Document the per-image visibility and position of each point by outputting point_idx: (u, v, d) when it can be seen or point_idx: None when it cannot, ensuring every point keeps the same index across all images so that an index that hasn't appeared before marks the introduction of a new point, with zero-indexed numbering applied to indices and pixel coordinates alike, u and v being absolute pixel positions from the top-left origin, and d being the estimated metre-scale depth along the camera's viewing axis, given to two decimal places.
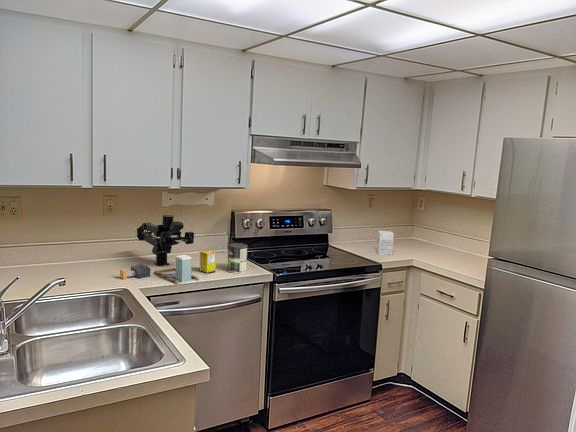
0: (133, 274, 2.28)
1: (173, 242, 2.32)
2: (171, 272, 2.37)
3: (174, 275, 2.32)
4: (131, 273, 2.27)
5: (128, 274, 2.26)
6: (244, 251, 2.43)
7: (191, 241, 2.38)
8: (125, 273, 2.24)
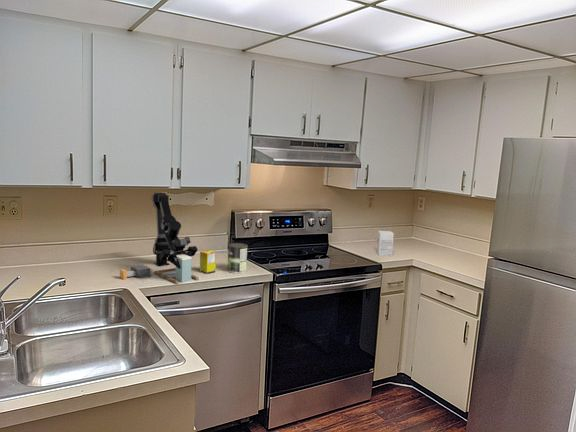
0: (133, 274, 2.28)
1: (176, 264, 2.23)
2: (171, 272, 2.37)
3: (174, 275, 2.32)
4: (131, 273, 2.27)
5: (128, 274, 2.26)
6: (244, 251, 2.43)
7: None
8: (125, 273, 2.24)
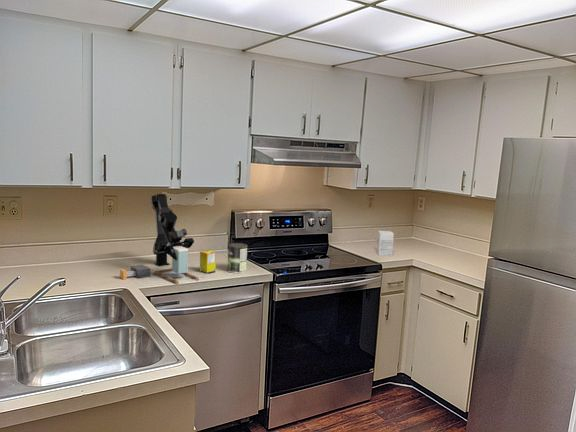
0: (133, 274, 2.28)
1: (173, 256, 2.25)
2: (171, 272, 2.37)
3: (174, 275, 2.32)
4: (131, 273, 2.27)
5: (128, 274, 2.26)
6: (244, 251, 2.43)
7: None
8: (125, 273, 2.24)
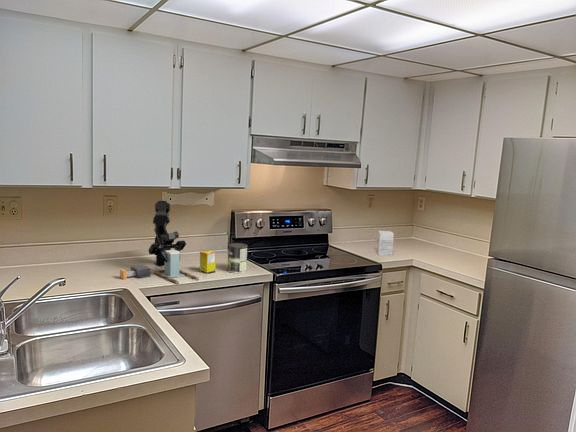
0: (133, 274, 2.28)
1: (163, 258, 2.31)
2: None
3: (174, 275, 2.32)
4: (131, 273, 2.27)
5: (128, 274, 2.26)
6: (244, 251, 2.43)
7: None
8: (125, 273, 2.24)
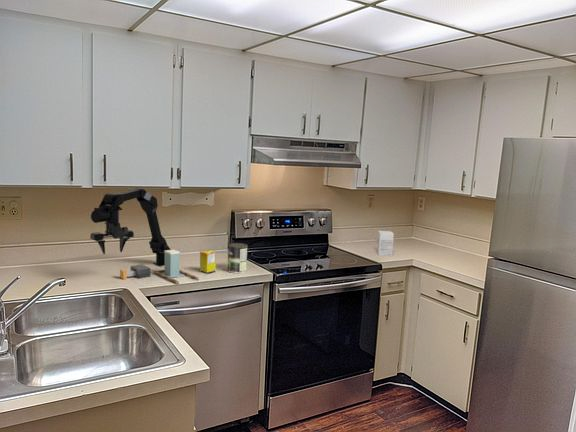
0: (133, 274, 2.28)
1: (102, 249, 2.16)
2: None
3: (174, 275, 2.32)
4: (131, 273, 2.27)
5: (128, 274, 2.26)
6: (244, 251, 2.43)
7: (120, 248, 2.23)
8: (125, 273, 2.24)
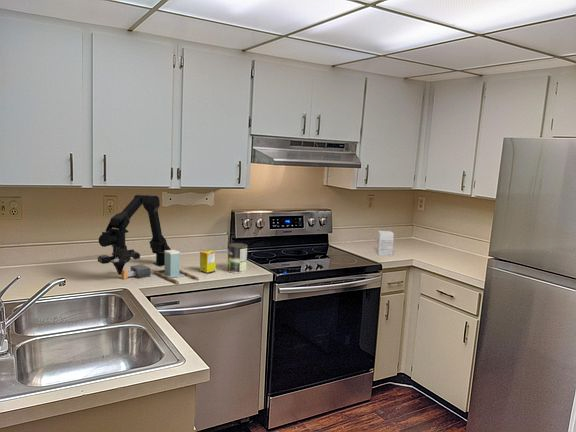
0: (134, 274, 2.28)
1: (117, 270, 2.23)
2: None
3: (174, 275, 2.32)
4: (132, 273, 2.27)
5: (129, 274, 2.26)
6: (244, 251, 2.43)
7: None
8: (126, 273, 2.24)
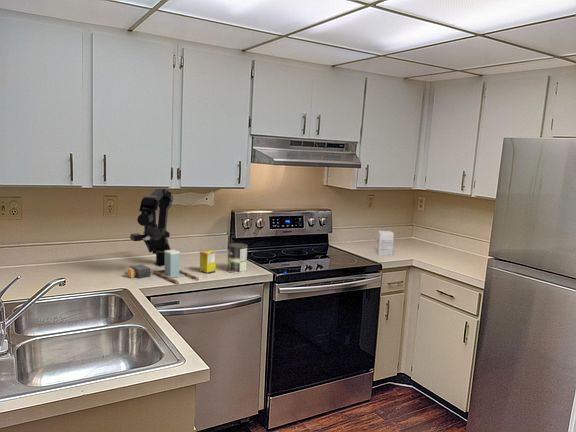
0: None
1: (148, 248, 2.33)
2: None
3: (174, 275, 2.32)
4: None
5: (135, 273, 2.29)
6: (244, 251, 2.43)
7: None
8: (133, 272, 2.26)
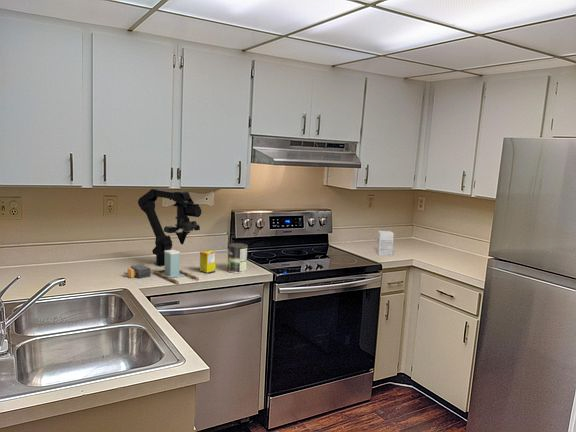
0: None
1: (180, 240, 2.46)
2: None
3: (174, 275, 2.32)
4: None
5: (135, 273, 2.29)
6: (244, 251, 2.43)
7: None
8: (133, 272, 2.26)
